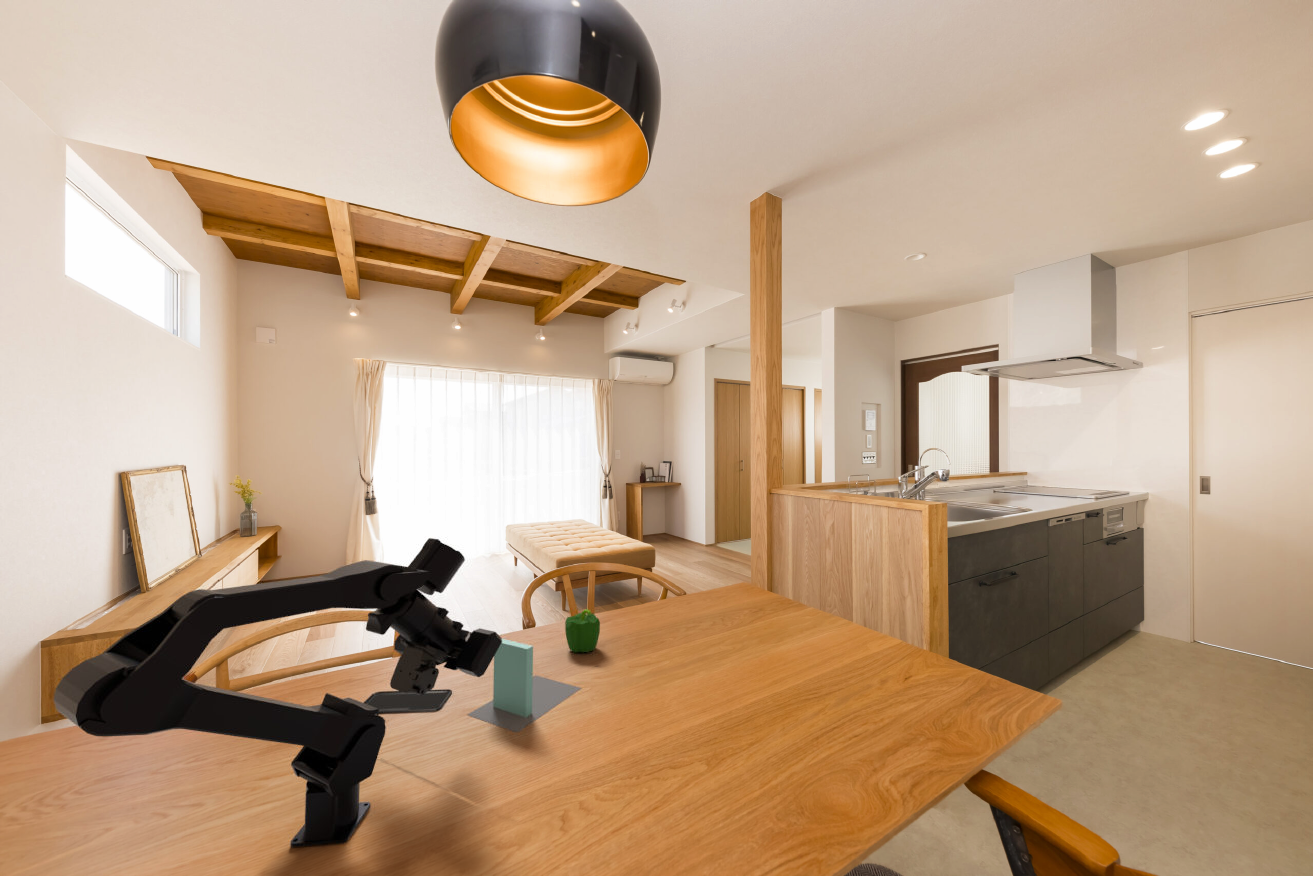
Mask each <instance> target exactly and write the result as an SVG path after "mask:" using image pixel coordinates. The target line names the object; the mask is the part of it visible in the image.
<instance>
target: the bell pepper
mask: <svg viewBox="0 0 1313 876" xmlns="http://www.w3.org/2000/svg"><path fill="white" fill-rule="evenodd" d="M564 627H565V629H564V630H565V638H566V642H567V646H568V648H569V650H570V651H571V650H572V651H573V652H572V651H571V652H572V653H584V652H588V653H590V652H589V651H592V650H593V651H595V649H596V648H597V644H598V641H599V636H600V632H601V631H600V630H601V622H600V619H599V618H598V617H597V616H596V614H595V613H594V612H593V613H592V611H591V610H590V609H587V608H585V609H584V610H582V612H578V613H577V614H574V615H571V616H567V618H566V619H565V625H564ZM593 651H592V652H593Z"/></svg>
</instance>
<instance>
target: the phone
mask: <svg viewBox="0 0 1313 876" xmlns="http://www.w3.org/2000/svg"><path fill="white" fill-rule="evenodd" d="M452 694H453V691H452V689H448V688H447V689H446V688H445V689H431V690H428V691H427V692H426V693H425V694H423V695H418V694H413V693H404V692H401V691H398V690H388V691H385V690H384V691H383V690H382V691H376V692H374V693H372V694H370V696H369V697H367V698H366V699H365V700H364V701H363V703H365V704H367V705H370V706H372V707H375V708H377V709H379V711H378V712H377V713H376V715H379V716H380V715H381V714H399V713H400V714H401V713H404V714H406V713H425V712H426V713H427V712H428V713H431V712H432V713H434V712H437V711H440V710H442V708H443V707H444V706H445V704H446V702H447V701H448V700H449V699H450V697H451V696H452Z"/></svg>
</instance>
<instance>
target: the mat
mask: <svg viewBox="0 0 1313 876" xmlns="http://www.w3.org/2000/svg"><path fill="white" fill-rule="evenodd" d="M581 689H582V687H579V686H576V685H571V684H568V683H565V682H561V681H557V680H555V679H550V678H547V677H543V676H539V675H533V688H532V714H531V715H529V716H528V717H526V718H525V717H522V716H519V715H516V714H513V713H510V712H507V711H504V710H501V709H498V708H495V707H493V699H492V700H490V701H488V702H487V703H485V704H483V705H481V706H479V707H478V708H475V709H474V710H473V711H470V712H469V713H467V714H466V715H467V716H469V717H471V718H474V719H477V720H480V721H483V722H487V723H489V724H490V725H491V724H492V725H495V726H497V727H500V728H503V729H506V730H509V731H511V732H515V733H516V734H517V733H519V732H521V731H522V730H523V729H525V728H526V727H528V726H529V725H531V724H532V723H534V722H535V721H537V720H538V719H539V718H541V717H542V716H543V715H545V714H547V713H548V712H549V711H551V710H553V708H555V707H556V706H558V705H559V704H561V703H562V702H563V701H565V700H567V699H568V698H570V697H571V696H573V695H574V694H575V693H577V692H579V691H580V690H581Z"/></svg>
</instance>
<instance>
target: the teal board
mask: <svg viewBox="0 0 1313 876" xmlns="http://www.w3.org/2000/svg"><path fill="white" fill-rule="evenodd" d="M533 667H534V646H533V645H531V644H526V643H522V642H519V641H513V640H509V639H505V638H502V643H501V645H500V647H499V648H498V650H497V652H496V654H495V655H494V657H493V687H492V689H493V692H492V693H493V694H492V697H493V698H492V700H493V707H495V708H498V709H501V710H504V711H507V712H510V713H513V714H516V715H519V716H522V717H525V718H526V717H528V716H529V715H531V714H532V688H533V676H534V675H533V674H534V673H533V672H534V668H533Z"/></svg>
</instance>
